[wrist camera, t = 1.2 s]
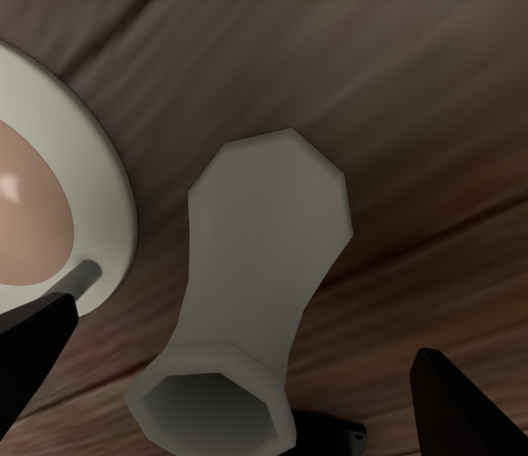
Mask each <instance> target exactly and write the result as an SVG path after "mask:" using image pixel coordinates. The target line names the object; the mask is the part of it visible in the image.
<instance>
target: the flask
mask: <svg viewBox="0 0 528 456" xmlns="http://www.w3.org/2000/svg"><path fill="white" fill-rule="evenodd" d="M188 210H189V227H190V246H189V281H188V285H187V289H186V293H185V297H184V300H183V304H182V308H181V312H180V316H179V320H178V323H177V327H176V329H175V331H174V333H173V335H172V337H171V339H170V341H169V343H168V345H167V347H166V348H165V349H164V350H163V351H162V353H161V354H160V355H159V356H158V357H157V358H156V359H155V360H154V361H153V362H152V363H151V364H150V365H149V366H148V367H147V368H146V369H145V370H144V371H143V372H142V373H141V374H140V375H139V376H138V377H137V378H136V379H135V380H134V381H133V382H132V383H131V384H130V385H129V387H128V388H127V390H126V392H125V394H124V396H123V400H124V402H125V403H126V405H127V406H128V408H129V410H130V411H131V413H132V414H133V416H134V418H135V419H136V421H137V422H138V424H139V426H140V427H141V429H142V430H143V432H144V434H145V435H146V437H147V438H148V439H149V440H150V441H152V442H154V443H155V444H157V445H159V446H161V447H162V448H164V449H166V450H167V451H169V452H171V453H173V454H174V455H176V456H278V455H280V454H282V453H283V452H285V451H287V450H289V449H291V448H292V447H294V446H295V445H296V436H297V433H296V427H295V421H294V418H293V415H292V412H291V409H290V406H289V403H288V399H287V396H286V393H285V381H286V372H287V363H288V355H289V352H290V349H291V346H292V343H293V340H294V337H295V334H296V331H297V328H298V325H299V322H300V319H301V316H302V313H303V310H304V309H305V307H306V305H307V304H308V302H309V301H310V299H311V297H312V296H313V294H314V293H315V291H316V289H317V288H318V286H319V285H320V283H321V281H322V280H323V278H324V277H325V275H326V273H327V272H328V270H329V269H330V267H331V266H332V264H333V263H334V262H335V260H336V259H337V258H338V256H339V255H340V253H341V252H342V251H343V249H344V248H345V247H346V245H347V244H348V242H349V241H350V239H351V238H352V236H353V228H352V222H351V215H350V208H349V202H348V195H347V189H346V182H345V176H344V173H343V172H342V171H341V170H339V169H338V168H337V167H336V166H335V165H334V164H333V163H331V162H330V161H329V160H328V159H327V158H326V157H325V156H324V155H322V154H321V153H320V152H319V151H318V150H317V149H316V148H314V147H313V146H312V145H311V144H310V143H309V142H308V141H307V140H305V139H304V138H303V137H302V136H301V135H300V134H299V133H297V132H296V131H295V130H294V129H293V128H287V129H283V130H279V131H274V132H270V133H266V134H262V135H257V136H253V137H249V138H245V139H240V140H236V141H232V142H228V143H224V144H223V146H222V147H221V148H220V150H219V151H218V152H217V154H216V155H215V156H214V158H213V159H212V160H211V162H210V163H209V164H208V166H207V167H206V168H205V170H204V171H203V172H202V174H201V175H200V177H199V178H198V179H197V181H196V182H195V183H194V185H193V186H192V187H191V189H190V190H189V191H188Z"/></svg>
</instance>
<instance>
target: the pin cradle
mask: <svg viewBox="0 0 528 456" xmlns="http://www.w3.org/2000/svg"><path fill="white" fill-rule="evenodd" d="M137 237H138V220H137V210H136V204H135V199H134V194H133V191H132V188H131V185H130V181H129V178H128V175H127V173H126V171H125V168H124V166H123V164H122V162H121V159H120V157H119V155H118V153H117V151H116V149H115V148H114V146H113V144H112V143H111V141H110V139H109V137H108V136H107V134H106V132H105V131H104V130H103V128H102V127H101V125H100V124H99V123H98V121H97V120H96V118H95V117H94V116H93V114H92V113H91V112H90V111H89V109H88V108H87V107H86V106H85V105H84V104H83V103H82V102H81V100H80V99H79V98H78V97H77V96H76V95H75V94H74V93H73V92H72V91H71V90H70V89H69V88H68V87H67V86H66V85H65V84H64V83H63V82H62V81H61V80H60V79H58V78H57V77H56V76H55V75H54V74H53V73H52V72H50V71H49V70H48V69H46V68H45V67H44V66H42V65H41V64H40V63H38V62H37V61H36V60H34V59H33V58H32V57H30V56H28V55H27V54H25V53H23V52H22V51H20V50H18V49H17V48H15V47H13V46H12V45H10V44H8V43H6V42H4V41H2V40H0V314H2V313H4V312H7V311H9V310H11V309H14V308H16V307H19V306H21V305H23V304H26V303H28V302H31V301H33V300H36V299H38V298H40V297H43V296H45V295H48V294H50V293H52V292H56V291H61V292H67V293H71V294H72V295H73V296H74V298H75V303H76V307H77V311H78V315H79V317H80V316H82V315H84V314H87V313H89V312H91V311H92V310H94V309H95V308H97V307H98V306H100V305H101V304H102V303H103V302H104V301H105V300H106V299H107V298H108V297H109V296H110V295H111V294H112V293H113V291H114V290H115V289H116V288H117V287H118V286H119V285H120V283H121V282H122V280H123V279H124V278H125V276H126V275H127V273H128V271H129V269H130V266H131V264H132V262H133V259H134V255H135V251H136V247H137Z"/></svg>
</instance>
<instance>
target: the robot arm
mask: <svg viewBox="0 0 528 456" xmlns="http://www.w3.org/2000/svg"><path fill="white" fill-rule="evenodd" d="M78 320H79V315H78V311H77V307H76V303H75V298H74V296H73V295H72V294H71V293H67V292H61V291H56V292H52V293H50V294H48V295H45V296H43V297H40V298H38V299H36V300H33V301H31V302H28V303H26V304H23V305H21V306H19V307H16V308H14V309H11V310H9V311H7V312H4V313H2V314H0V441H1V440H2V438H3V437H4V436H5V434H6V433H7V431H8V430H9V429H10V427H11V426H12V424H13V423H14V422H15V420H16V419H17V418H18V416H19V415H20V413H21V412H22V411H23V409H24V408H25V406H26V405H27V404H28V402H29V401H30V399H31V398H32V397H33V395H34V394H35V393H36V391H37V390H38V388H39V387H40V386H41V384H42V383H43V381H44V380H45V378H46V377H47V375H48V373H49V372H50V370H51V369H52V367H53V365H54V364H55V362H56V360H57V358H58V357H59V355H60V353H61V352H62V350H63V348H64V347H65V345H66V343H67V342H68V340H69V338H70V336H71V335H72V333H73V331H74V330H75V328H76V326H77V324H78ZM410 384H411V391H412V398H413V405H414V412H415V419H416V426H417V433H418V439H419V445H420V450H421V454H422V456H528V437H527V436H526V435H525V434H524V433H523V432H522V431H521V430H520V429H519V428H518V427H517V426H516V425H515V424H514V423H513V422H512V421H511V420H510V419H509V418H508V417H507V416H506V415H505V414H504V413H503V412H502V411H501V410H500V409H499V408H498V407H497V406H496V405H495V404H494V403H493V402H492V401H491V400H490V399H489V398H488V397H487V396H486V395H485V394H484V393H483V392H481V391H480V390H479V389H478V388H477V387H476V386H475V385H474V384H473V383H472V382H471V381H470V380H469V379H468V378H467V377H466V376H465V375H464V374H463V373H462V372H461V371H460V370H459V369H458V368H457V367H456V366H455V365H454V364H453V363H452V362H451V361H450V360H449V359H448V358H447V357H446V356H445V355H444V354H443V353H442V352H440V351H439V350H436V349H431V348H424V347H423V348H420V349H419V351H418V353H417V355H416V358H415V360H414V363H413V365H412V368H411V371H410ZM292 415H293V418H294V421H295V427H296V433H297V436H296V445H295V446H294V447H292V448H291V449H289V450H287V451H285V452H283V453H282V454H280V455H278V456H361V455H362V452H363V449H364V447H365V444H366V441H367V431H366V429H365V428H364V427H361V426H357V425H351V424H346V423H340V422H334V421H329V420H323V419H318V418H312V417H306V416H301V415H295V414H292Z"/></svg>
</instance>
